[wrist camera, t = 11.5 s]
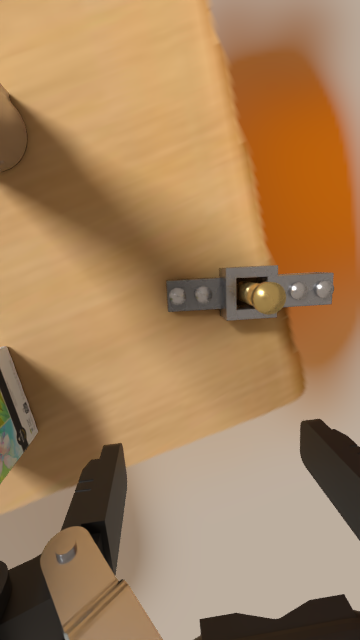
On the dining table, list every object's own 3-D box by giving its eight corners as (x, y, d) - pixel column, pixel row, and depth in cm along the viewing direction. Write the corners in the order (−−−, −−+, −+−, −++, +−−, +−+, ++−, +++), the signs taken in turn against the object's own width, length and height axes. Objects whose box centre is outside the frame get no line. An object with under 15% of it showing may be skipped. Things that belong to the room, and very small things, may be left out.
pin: (231, 279, 40) (254, 282, 30) (255, 277, 40) (286, 281, 31) (231, 304, 41) (254, 315, 31) (255, 302, 41) (285, 313, 31)
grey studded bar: (165, 270, 39) (166, 271, 35) (317, 263, 41) (336, 262, 36) (168, 318, 40) (169, 325, 36) (314, 309, 42) (333, 314, 38)
